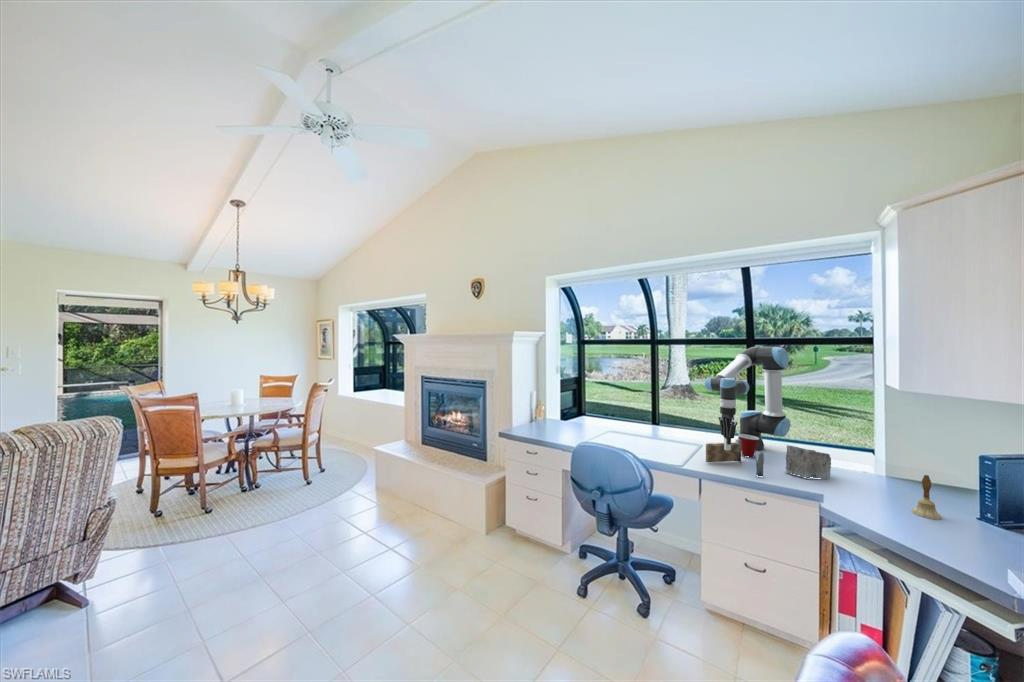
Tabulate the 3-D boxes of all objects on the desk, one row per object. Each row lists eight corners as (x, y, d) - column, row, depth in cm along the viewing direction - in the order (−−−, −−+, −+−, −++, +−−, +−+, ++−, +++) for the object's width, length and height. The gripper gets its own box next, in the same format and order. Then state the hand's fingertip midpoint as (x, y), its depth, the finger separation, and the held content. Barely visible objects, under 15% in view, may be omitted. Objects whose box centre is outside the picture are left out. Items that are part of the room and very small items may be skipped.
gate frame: (707, 458, 222) (708, 438, 222) (739, 460, 220) (740, 439, 220) (728, 476, 195) (728, 452, 195) (764, 477, 193) (764, 454, 193)
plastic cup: (763, 459, 222) (763, 438, 222) (744, 458, 222) (744, 438, 222) (752, 453, 233) (752, 433, 233) (734, 453, 233) (734, 433, 233)
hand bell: (933, 520, 149) (934, 480, 149) (906, 511, 157) (907, 472, 157) (946, 518, 152) (948, 478, 151) (919, 508, 160) (920, 470, 159)
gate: (737, 460, 218) (737, 442, 217) (738, 460, 216) (739, 442, 216) (705, 461, 215) (705, 443, 215) (707, 462, 213) (707, 444, 213)
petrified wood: (828, 473, 200) (829, 444, 200) (833, 484, 185) (834, 453, 185) (784, 466, 210) (785, 439, 210) (785, 476, 196) (786, 447, 195)
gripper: (714, 404, 215) (713, 446, 216) (728, 409, 202) (728, 453, 203) (726, 404, 216) (726, 446, 216) (742, 409, 203) (742, 453, 203)
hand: (727, 449), depth 209 cm, fingers closed
